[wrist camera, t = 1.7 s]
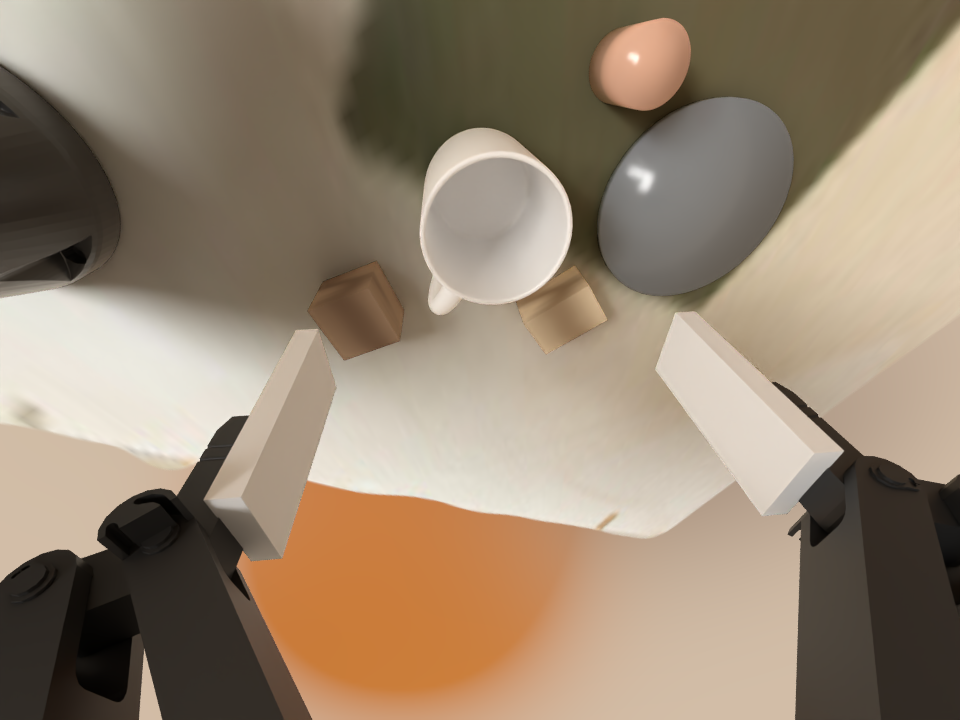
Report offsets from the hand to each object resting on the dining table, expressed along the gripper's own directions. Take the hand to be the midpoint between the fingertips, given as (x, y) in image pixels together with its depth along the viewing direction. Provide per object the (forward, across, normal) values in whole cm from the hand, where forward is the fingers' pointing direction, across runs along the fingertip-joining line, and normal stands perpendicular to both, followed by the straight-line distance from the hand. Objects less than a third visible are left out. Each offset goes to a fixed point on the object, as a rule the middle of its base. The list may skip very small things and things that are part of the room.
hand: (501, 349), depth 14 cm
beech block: (+19, +8, -8) cm, 22 cm away
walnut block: (+19, -9, -7) cm, 22 cm away
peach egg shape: (+19, +10, +9) cm, 23 cm away
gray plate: (+19, +18, 0) cm, 26 cm away
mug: (+19, 0, 0) cm, 19 cm away
